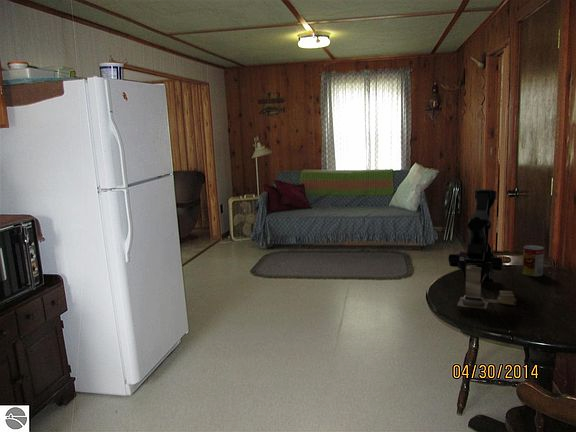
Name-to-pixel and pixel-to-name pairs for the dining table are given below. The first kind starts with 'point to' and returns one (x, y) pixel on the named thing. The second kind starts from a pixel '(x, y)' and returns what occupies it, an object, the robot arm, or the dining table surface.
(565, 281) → the dining table surface
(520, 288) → the dining table surface
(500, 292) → the upper offcut
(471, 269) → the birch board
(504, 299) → the lower offcut
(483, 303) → the rack
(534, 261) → the canned food
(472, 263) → the robot arm
